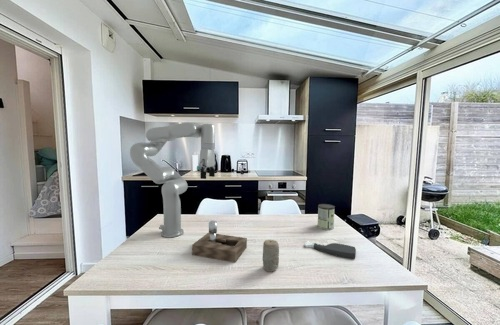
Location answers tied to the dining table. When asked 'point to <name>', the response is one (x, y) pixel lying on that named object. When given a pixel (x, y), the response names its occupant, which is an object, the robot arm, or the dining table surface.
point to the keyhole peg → (212, 230)
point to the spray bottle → (334, 249)
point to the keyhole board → (220, 247)
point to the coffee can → (326, 216)
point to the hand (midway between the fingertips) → (207, 177)
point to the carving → (270, 255)
